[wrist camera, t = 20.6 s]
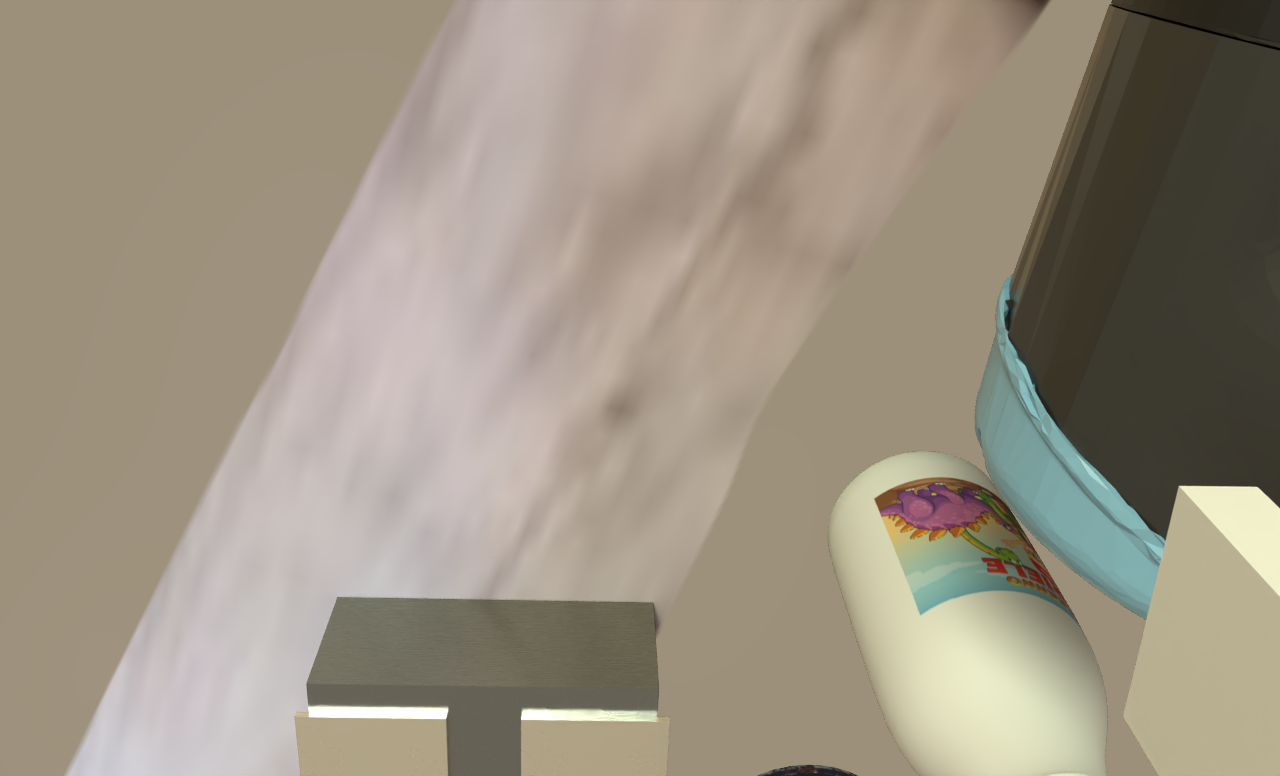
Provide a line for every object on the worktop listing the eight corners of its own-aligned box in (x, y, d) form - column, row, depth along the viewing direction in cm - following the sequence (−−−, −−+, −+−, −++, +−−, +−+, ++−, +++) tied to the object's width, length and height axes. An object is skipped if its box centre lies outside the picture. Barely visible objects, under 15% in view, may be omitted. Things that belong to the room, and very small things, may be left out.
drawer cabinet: (664, 603, 53) (671, 693, 47) (655, 750, 56) (661, 852, 51) (326, 597, 52) (291, 688, 47) (338, 746, 56) (307, 849, 50)
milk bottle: (929, 623, 54) (1095, 1017, 36) (789, 550, 52) (889, 925, 34) (1037, 495, 51) (1275, 850, 33) (893, 414, 49) (1062, 741, 31)
